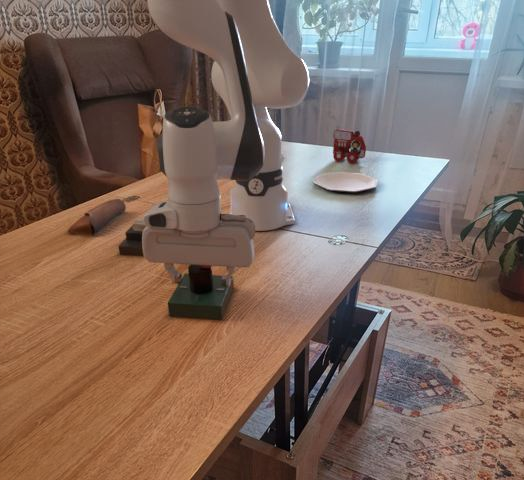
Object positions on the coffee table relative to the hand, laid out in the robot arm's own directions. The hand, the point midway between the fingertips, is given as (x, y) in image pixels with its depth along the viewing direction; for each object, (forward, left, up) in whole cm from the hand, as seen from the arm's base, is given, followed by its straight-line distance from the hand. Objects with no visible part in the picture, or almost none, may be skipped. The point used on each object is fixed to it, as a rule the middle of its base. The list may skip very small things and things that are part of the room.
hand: (201, 284), depth 91 cm
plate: (-79, +28, -4) cm, 84 cm away
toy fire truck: (-110, +29, -4) cm, 114 cm away
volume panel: (0, 0, -4) cm, 4 cm away
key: (-26, -21, 0) cm, 33 cm away
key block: (-26, -21, -4) cm, 33 cm away
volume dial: (0, 0, -1) cm, 1 cm away
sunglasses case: (-38, -38, -4) cm, 54 cm away
